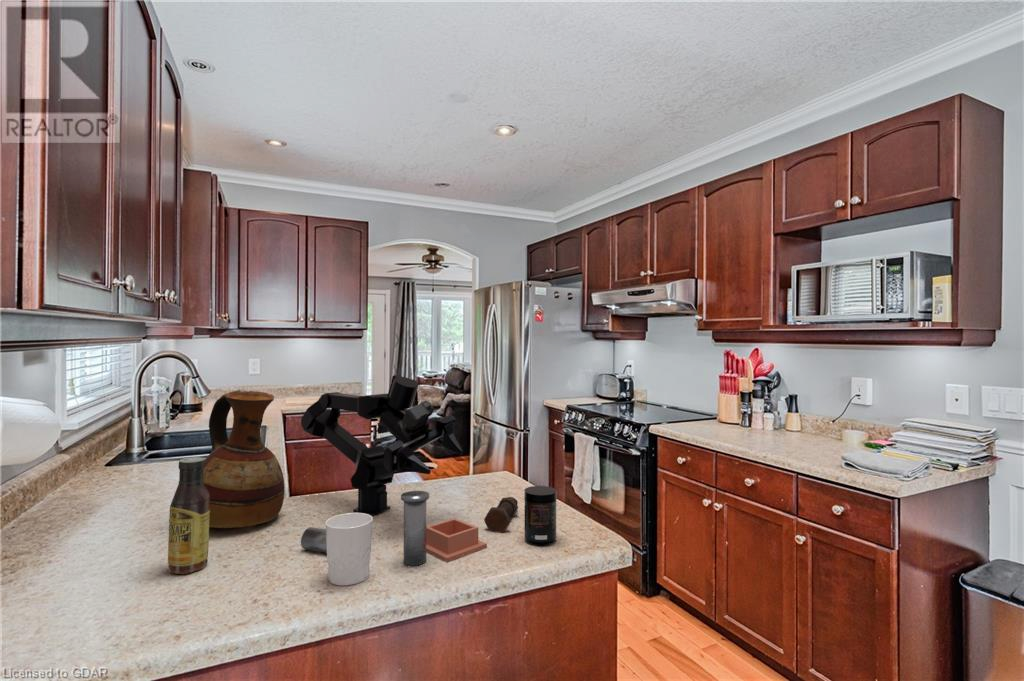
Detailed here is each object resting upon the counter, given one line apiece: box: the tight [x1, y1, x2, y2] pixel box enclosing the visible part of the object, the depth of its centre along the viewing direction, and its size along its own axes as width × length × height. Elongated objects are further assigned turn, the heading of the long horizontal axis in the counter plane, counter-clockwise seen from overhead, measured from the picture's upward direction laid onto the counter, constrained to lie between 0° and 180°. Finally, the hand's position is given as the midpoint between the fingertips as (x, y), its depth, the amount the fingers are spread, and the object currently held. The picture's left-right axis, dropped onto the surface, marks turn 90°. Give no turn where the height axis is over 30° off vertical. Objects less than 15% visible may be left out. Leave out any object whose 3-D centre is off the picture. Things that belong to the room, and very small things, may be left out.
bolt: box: [483, 496, 519, 533], centre depth 119 cm, size 6×5×15 cm
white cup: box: [325, 512, 374, 586], centre depth 90 cm, size 8×8×10 cm
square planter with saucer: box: [426, 517, 488, 563], centre depth 103 cm, size 10×10×4 cm
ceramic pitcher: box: [203, 390, 285, 529], centre depth 117 cm, size 20×20×30 cm
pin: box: [300, 527, 327, 554], centre depth 101 cm, size 12×4×4 cm, turn 71°
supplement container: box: [523, 485, 558, 547], centre depth 107 cm, size 7×7×10 cm
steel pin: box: [400, 490, 430, 568], centre depth 96 cm, size 5×5×13 cm
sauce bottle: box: [167, 456, 210, 575], centre depth 93 cm, size 6×6×20 cm
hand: (446, 462), depth 111 cm, fingers open, 9 cm apart
